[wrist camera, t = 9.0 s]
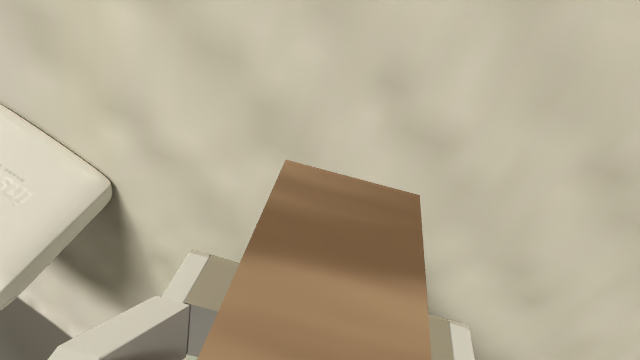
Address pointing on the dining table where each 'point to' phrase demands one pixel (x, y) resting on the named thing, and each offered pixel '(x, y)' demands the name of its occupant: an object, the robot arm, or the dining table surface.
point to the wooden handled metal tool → (328, 275)
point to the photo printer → (40, 201)
